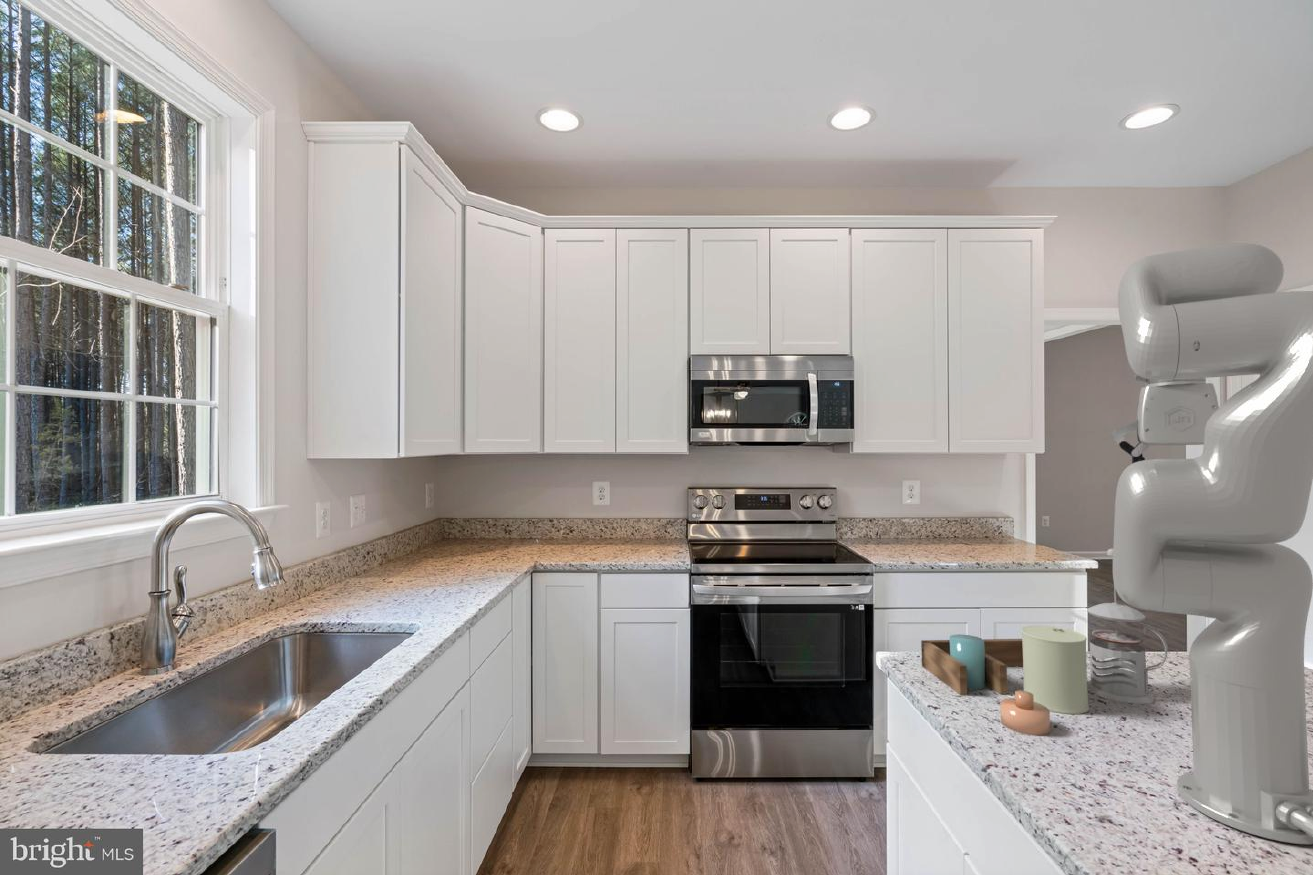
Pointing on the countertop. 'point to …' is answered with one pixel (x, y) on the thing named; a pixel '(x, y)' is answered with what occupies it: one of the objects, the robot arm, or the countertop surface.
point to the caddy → (955, 672)
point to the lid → (1025, 715)
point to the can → (1055, 668)
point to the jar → (970, 658)
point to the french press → (1120, 656)
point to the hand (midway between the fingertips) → (1178, 480)
